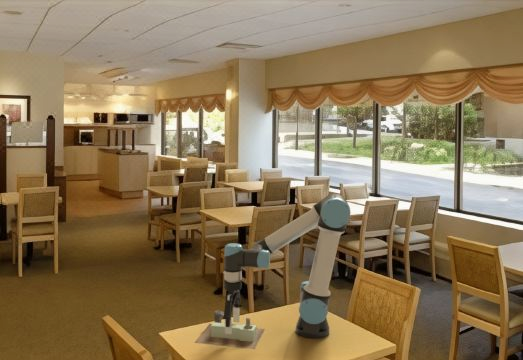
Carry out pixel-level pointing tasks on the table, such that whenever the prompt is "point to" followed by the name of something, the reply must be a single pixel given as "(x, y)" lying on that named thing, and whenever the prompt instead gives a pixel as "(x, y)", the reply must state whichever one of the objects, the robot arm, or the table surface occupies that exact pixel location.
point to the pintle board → (207, 339)
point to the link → (234, 332)
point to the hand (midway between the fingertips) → (232, 327)
